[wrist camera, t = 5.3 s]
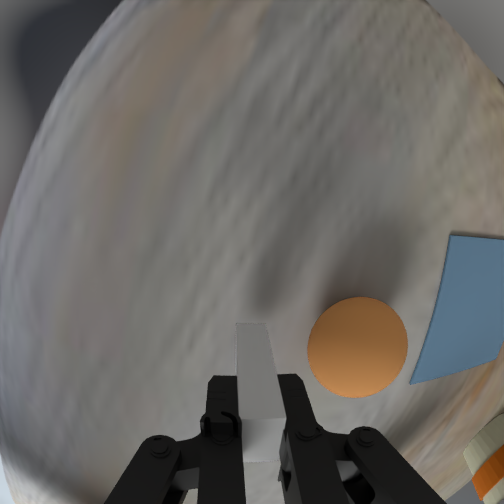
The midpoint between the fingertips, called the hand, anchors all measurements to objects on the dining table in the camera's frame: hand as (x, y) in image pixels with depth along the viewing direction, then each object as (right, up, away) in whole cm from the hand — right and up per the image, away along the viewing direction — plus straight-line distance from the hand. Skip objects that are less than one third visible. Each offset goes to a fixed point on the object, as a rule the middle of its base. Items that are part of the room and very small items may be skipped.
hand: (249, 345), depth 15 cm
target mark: (+19, 0, +3) cm, 19 cm away
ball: (+6, 0, 0) cm, 6 cm away
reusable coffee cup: (+35, -22, +11) cm, 43 cm away
